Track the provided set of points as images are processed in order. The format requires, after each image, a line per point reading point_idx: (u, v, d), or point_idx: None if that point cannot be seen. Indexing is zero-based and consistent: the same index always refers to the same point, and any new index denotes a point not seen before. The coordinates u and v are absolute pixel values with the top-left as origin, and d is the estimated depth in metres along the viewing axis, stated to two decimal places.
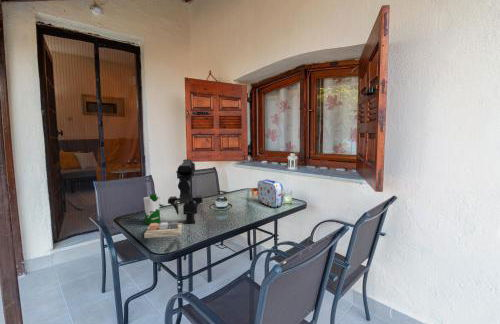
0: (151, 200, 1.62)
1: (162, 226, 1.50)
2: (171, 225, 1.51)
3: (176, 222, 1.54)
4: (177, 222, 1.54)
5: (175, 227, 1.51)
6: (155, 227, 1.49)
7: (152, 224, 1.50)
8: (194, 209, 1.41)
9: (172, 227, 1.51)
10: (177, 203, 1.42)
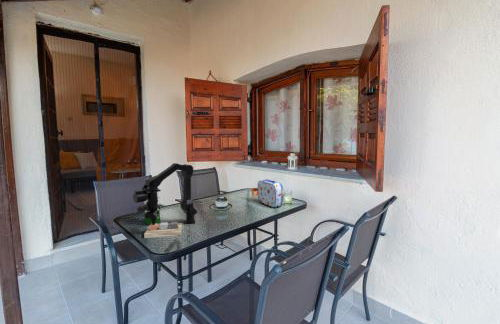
0: None
1: (162, 226, 1.50)
2: (171, 225, 1.51)
3: (176, 222, 1.54)
4: (177, 222, 1.54)
5: (175, 227, 1.51)
6: (155, 227, 1.49)
7: (152, 224, 1.50)
8: None
9: (172, 227, 1.51)
10: (157, 214, 1.51)
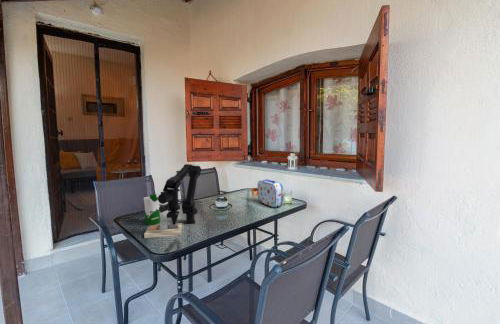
0: (151, 200, 1.62)
1: (162, 226, 1.50)
2: (171, 226, 1.51)
3: (176, 223, 1.54)
4: (177, 223, 1.54)
5: (175, 228, 1.51)
6: (155, 229, 1.49)
7: (152, 226, 1.51)
8: (172, 220, 1.52)
9: (172, 228, 1.51)
10: (177, 214, 1.53)
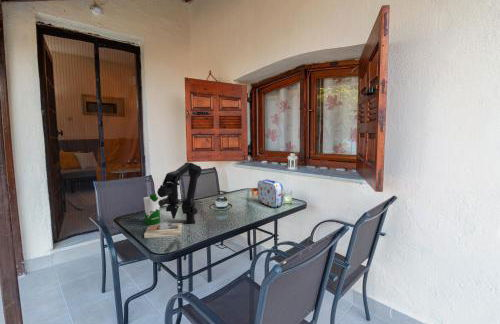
0: (151, 200, 1.62)
1: (162, 226, 1.50)
2: (171, 227, 1.51)
3: (176, 224, 1.54)
4: (177, 224, 1.54)
5: None
6: (155, 229, 1.49)
7: (152, 226, 1.51)
8: None
9: None
10: None
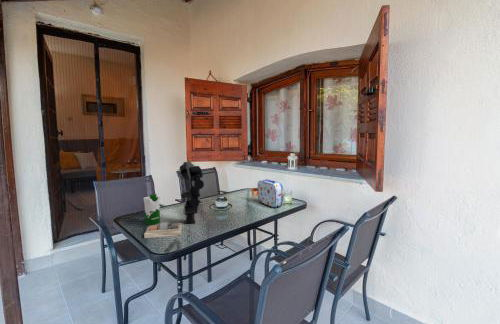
0: (151, 200, 1.62)
1: (162, 226, 1.50)
2: (171, 227, 1.51)
3: (176, 224, 1.54)
4: (177, 224, 1.54)
5: None
6: (155, 229, 1.49)
7: (152, 226, 1.51)
8: None
9: None
10: None
